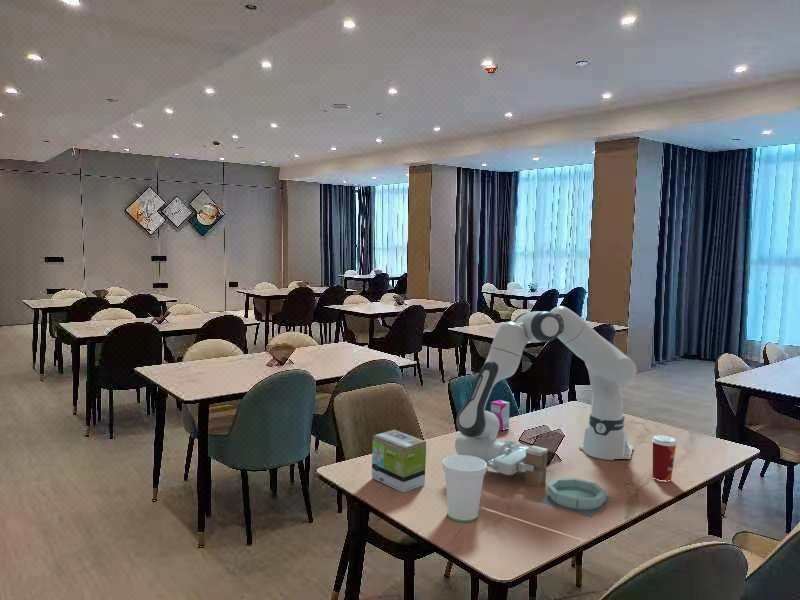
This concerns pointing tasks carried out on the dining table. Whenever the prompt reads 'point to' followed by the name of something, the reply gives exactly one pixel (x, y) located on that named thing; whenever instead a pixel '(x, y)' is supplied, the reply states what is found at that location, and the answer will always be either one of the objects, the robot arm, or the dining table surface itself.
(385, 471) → the tea box
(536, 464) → the lidded brown carton
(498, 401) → the supplement box
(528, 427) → the dining table surface
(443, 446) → the dining table surface
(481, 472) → the cup
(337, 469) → the dining table surface
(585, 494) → the bowl
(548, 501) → the place mat
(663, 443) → the paper cup
